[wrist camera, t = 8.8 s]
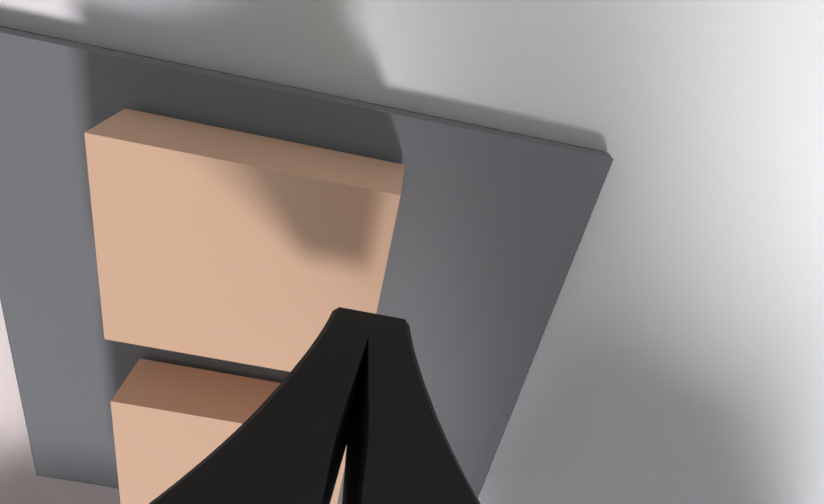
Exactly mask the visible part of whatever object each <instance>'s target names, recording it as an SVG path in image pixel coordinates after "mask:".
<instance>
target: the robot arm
mask: <svg viewBox="0 0 824 504" xmlns="http://www.w3.org/2000/svg"><path fill="white" fill-rule="evenodd" d="M346 445H347V447H346ZM345 449H346V459H345V471H344V484H343V496H342V504H480V502H479V500H478V499H477V497H476V495H475V493H474V491H473V490H472V488H471V486H470V484H469V482H468V481H467V479H466V477H465V475H464V473H463V471H462V469H461V467H460V465H459V463H458V461H457V459H456V457H455V455H454V453H453V451H452V449H451V447H450V444H449V442H448V440H447V438H446V436H445V433H444V431H443V429H442V427H441V424H440V422H439V420H438V417H437V415H436V412H435V410H434V407H433V404H432V402H431V399H430V396H429V394H428V391H427V389H426V386H425V383H424V380H423V377H422V374H421V371H420V368H419V364H418V361H417V358H416V354H415V350H414V347H413V342H412V338H411V333H410V325H409V324H408V323H407V321H406V320H405V319H401V318H396V317H391V316H385V315H380V314H374V313H369V312H363V311H358V310H353V309H347V308H342V307H339V308H337V309H335V310H333V311H332V313H331V315H330V317H329V319H328V321H327V322H326V324H325V326H324V328H323V329H322V331H321V332H320V334H319V335H318V337H317V338H316V340H315V341H314V342H313V344H312V345H311V347H310V348H309V349H308V351H307V352H306V353H305V355H304V356H303V357H302V358H301V360H300V361H299V362H298V363H297V365H296V366H295V367H294V368H293V370H292V371H291V372H290V373H289V375H288V376H287V377H286V378H285V379H284V380H283V382H282V383H281V384H280V385H279V386H278V387H277V388H276V389H275V390H274V392H273V393H272V394H271V395H270V396H269V397H268V398H267V399H266V400H265V401H264V402H263V403H262V404H261V406H260V407H259V408H258V409H257V410H256V411H255V412H254V413H253V414H252V415H251V416H250V417H249V418H248V419H247V420H246V421H245V422H244V423H243V424H242V425H241V426H240V427H239V428H238V429H237V430H236V431H235V432H234V433H233V434H232V435H231V436H229V437H228V438H227V439H226V440H225V441H224V442H223V443H222V444H221V445H220V446H218V447H217V448H216V449H215V450H214V451H213V452H212V453H211V454H209V455H208V456H207V457H206V458H205V459H204V460H202V461H201V462H200V463H199V464H198V465H196V466H195V467H194V468H193V469H192V470H190V471H189V472H188V473H187V474H186V475H184V476H183V477H182V478H181V479H179V480H178V481H177V482H176V483H175V484H173V485H172V486H171V487H170V488H168V489H167V490H166V491H164V492H163V493H162V494H161V495H159V496H158V497H157V498H155V499H154V500H153V501H151V502H150V503H149V504H330V502H331V498H332V495H333V491H334V488H335V484H336V481H337V477H338V474H339V470H340V466H341V463H342V459H343V456H344V452H345Z"/></svg>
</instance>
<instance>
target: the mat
mask: <svg viewBox="0 0 824 504" xmlns="http://www.w3.org/2000/svg"><path fill="white" fill-rule="evenodd" d="M125 108H126V109H131V110H136V111H141V112H146V113H151V114H156V115H161V116H166V117H171V118H176V119H181V120H186V121H190V122H195V123H200V124H205V125H210V126H215V127H220V128H225V129H230V130H235V131H240V132H245V133H250V134H255V135H260V136H265V137H270V138H275V139H280V140H285V141H290V142H295V143H300V144H304V145H309V146H314V147H319V148H324V149H329V150H334V151H339V152H344V153H349V154H354V155H359V156H364V157H369V158H374V159H379V160H384V161H389V162H394V163H399V164H404V165H405V168H404V175H403V183H402V190H401V197H400V201H399V206H398V211H397V216H396V221H395V226H394V230H393V235H392V240H391V245H390V250H389V255H388V260H387V264H386V269H385V274H384V279H383V284H382V289H381V293H380V298H379V303H378V308H377V313H376V314H380V315H385V316H391V317H396V318H401V319H405V320H406V321H407V323H408V324H409V325H410V333H411V338H412V342H413V347H414V350H415V354H416V358H417V361H418V364H419V368H420V371H421V374H422V377H423V380H424V383H425V386H426V389H427V391H428V394H429V396H430V399H431V402H432V404H433V407H434V410H435V412H436V415H437V417H438V420H439V422H440V424H441V427H442V429H443V431H444V433H445V436H446V438H447V440H448V442H449V444H450V447H451V449H452V451H453V453H454V455H455V457H456V459H457V461H458V463H459V465H460V467H461V469H462V471H463V473H464V475H465V477H466V479H467V481H468V482H469V484H470V486H471V488H472V490H473V491H474V493H475V495H476V497H477V498H478V496H479V493H480V491H481V488H482V486H483V483H484V481H485V478H486V476H487V473H488V471H489V468H490V466H491V463H492V461H493V458H494V456H495V453H496V451H497V448H498V446H499V443H500V441H501V438H502V436H503V433H504V431H505V428H506V426H507V423H508V421H509V418H510V416H511V413H512V411H513V408H514V406H515V403H516V401H517V398H518V396H519V393H520V391H521V388H522V386H523V383H524V381H525V378H526V376H527V373H528V371H529V368H530V366H531V363H532V361H533V358H534V356H535V353H536V351H537V348H538V346H539V343H540V341H541V338H542V336H543V333H544V331H545V328H546V326H547V323H548V321H549V318H550V316H551V313H552V311H553V308H554V306H555V303H556V301H557V298H558V296H559V293H560V291H561V288H562V286H563V283H564V281H565V278H566V276H567V273H568V271H569V268H570V266H571V263H572V261H573V258H574V256H575V253H576V251H577V248H578V246H579V243H580V241H581V238H582V236H583V233H584V231H585V228H586V226H587V223H588V221H589V218H590V216H591V213H592V211H593V208H594V206H595V203H596V201H597V198H598V196H599V193H600V191H601V188H602V186H603V183H604V181H605V178H606V176H607V173H608V171H609V168H610V166H611V163H612V161H613V159H612V157H611V156H610V155H609V153H606V152H601V151H597V150H592V149H587V148H582V147H577V146H573V145H568V144H563V143H558V142H553V141H548V140H544V139H539V138H534V137H529V136H524V135H520V134H515V133H510V132H505V131H500V130H496V129H491V128H486V127H481V126H476V125H471V124H467V123H462V122H457V121H452V120H447V119H443V118H438V117H433V116H428V115H423V114H419V113H414V112H409V111H404V110H399V109H395V108H390V107H385V106H380V105H375V104H370V103H366V102H361V101H356V100H351V99H346V98H342V97H337V96H332V95H327V94H322V93H318V92H313V91H308V90H303V89H298V88H293V87H289V86H284V85H279V84H274V83H269V82H265V81H260V80H255V79H250V78H245V77H241V76H236V75H231V74H226V73H221V72H217V71H212V70H207V69H202V68H197V67H192V66H188V65H183V64H178V63H173V62H168V61H164V60H159V59H154V58H149V57H144V56H140V55H135V54H130V53H125V52H120V51H115V50H111V49H106V48H101V47H96V46H91V45H87V44H82V43H77V42H72V41H67V40H63V39H58V38H53V37H48V36H43V35H38V34H34V33H29V32H24V31H19V30H14V29H10V28H5V27H0V300H1V305H2V310H3V315H4V320H5V324H6V329H7V334H8V339H9V344H10V349H11V353H12V358H13V363H14V368H15V373H16V378H17V382H18V387H19V392H20V397H21V402H22V407H23V411H24V416H25V421H26V426H27V431H28V436H29V440H30V445H31V450H32V455H33V460H34V465H35V469H36V474H37V475H40V476H46V477H52V478H58V479H65V480H71V481H77V482H83V483H90V484H96V485H102V486H108V487H115V488H119V483H118V473H117V462H116V452H115V442H114V432H113V421H112V411H111V400H112V398H113V397H114V395H115V394H116V393H117V391H118V390H119V388H120V387H121V385H122V384H123V382H124V381H125V379H126V378H127V376H128V375H129V374H130V372H131V371H132V369H133V368H134V366H135V365H136V363H137V362H138V360H139V359H146V360H152V361H158V362H163V363H169V364H175V365H181V366H186V367H192V368H198V369H203V370H209V371H215V372H221V373H226V374H232V375H238V376H244V377H249V378H255V379H261V380H266V381H272V382H278V383H282V382H283V380H284V379H285V378H286V377H287V376H288V375H289V373H290V372H288V371H283V370H277V369H271V368H266V367H260V366H254V365H249V364H243V363H237V362H232V361H226V360H220V359H214V358H209V357H203V356H197V355H192V354H186V353H180V352H175V351H169V350H163V349H158V348H152V347H146V346H141V345H135V344H129V343H124V342H118V341H112V340H107V339H104V329H103V319H102V309H101V299H100V288H99V278H98V268H97V258H96V247H95V237H94V227H93V217H92V206H91V196H90V186H89V176H88V165H87V155H86V145H85V135H84V133H85V132H86V131H88V130H90V129H91V128H93V127H95V126H96V125H98V124H100V123H101V122H103V121H105V120H106V119H108V118H110V117H111V116H113V115H115V114H117V113H118V112H120V111H122V110H123V109H125ZM344 471H345V468H344ZM343 484H344V473H343V478H342V483H341V487H340V492H339V497H338V502H337V504H342V496H343Z"/></svg>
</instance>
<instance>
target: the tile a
mask: <svg viewBox="0 0 824 504" xmlns="http://www.w3.org/2000/svg"><path fill="white" fill-rule="evenodd" d="M280 384H281V383H278V382H272V381H266V380H261V379H255V378H249V377H244V376H238V375H232V374H226V373H221V372H215V371H209V370H203V369H198V368H192V367H186V366H181V365H175V364H169V363H163V362H158V361H152V360H146V359H139V360H138V362H137V363H136V365H135V366H134V368H133V369H132V371H131V372H130V374H129V375H128V376H127V378H126V379H125V381H124V382H123V384H122V385H121V387H120V388H119V390H118V391H117V393H116V394H115V395H114V397H113V398H112V400H111V411H112V421H113V432H114V442H115V452H116V462H117V473H118V483H119V493H120V503H121V504H149V503H150V502H151V501H153V500H154V499H155V498H157V497H158V496H159V495H161V494H162V493H163V492H164V491H166V490H167V489H168V488H170V487H171V486H172V485H173V484H175V483H176V482H177V481H178V480H179V479H181V478H182V477H183V476H184V475H186V474H187V473H188V472H189V471H190V470H192V469H193V468H194V467H195V466H196V465H198V464H199V463H200V462H201V461H202V460H204V459H205V458H206V457H207V456H208V455H209V454H211V453H212V452H213V451H214V450H215V449H216V448H217V447H218V446H220V445H221V444H222V443H223V442H224V441H225V440H226V439H227V438H228V437H229V436H231V435H232V434H233V433H234V432H235V431H236V430H237V429H238V428H239V427H240V426H241V425H242V424H243V423H244V422H245V421H246V420H247V419H248V418H249V417H250V416H251V415H252V414H253V413H254V412H255V411H256V410H257V409H258V408H259V407H260V406H261V404H262V403H263V402H264V401H265V400H266V399H267V398H268V397H269V396H270V395H271V394H272V393H273V392H274V390H275V389H276V388H277V387H278V386H279V385H280ZM346 447H347V445H346ZM345 459H346V449H345V452H344V456H343V459H342V463H341V466H340V470H339V474H338V477H337V481H336V484H335V488H334V491H333V495H332V498H331V502H330V504H337V502H338V497H339V492H340V487H341V483H342V478H343V473H344V468H345Z"/></svg>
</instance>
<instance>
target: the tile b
mask: <svg viewBox="0 0 824 504" xmlns="http://www.w3.org/2000/svg"><path fill="white" fill-rule="evenodd" d="M84 135H85V145H86V155H87V165H88V176H89V186H90V196H91V206H92V217H93V227H94V237H95V247H96V258H97V268H98V278H99V288H100V299H101V309H102V319H103V329H104V339H107V340H112V341H118V342H124V343H129V344H135V345H141V346H146V347H152V348H158V349H163V350H169V351H175V352H180V353H186V354H192V355H197V356H203V357H209V358H214V359H220V360H226V361H232V362H237V363H243V364H249V365H254V366H260V367H266V368H271V369H277V370H283V371H288V372H291V371H292V370H293V368H294V367H295V366H296V365H297V363H298V362H299V361H300V360H301V358H302V357H303V356H304V355H305V353H306V352H307V351H308V349H309V348H310V347H311V345H312V344H313V342H314V341H315V340H316V338H317V337H318V335H319V334H320V332H321V331H322V329H323V328H324V326H325V324H326V322H327V321H328V319H329V317H330V315H331V313H332V311H333V310H335V309H337V308H339V307H342V308H347V309H353V310H358V311H363V312H369V313H374V314H376V313H377V308H378V303H379V298H380V293H381V289H382V284H383V279H384V274H385V269H386V264H387V260H388V255H389V250H390V245H391V240H392V235H393V230H394V226H395V221H396V216H397V211H398V206H399V201H400V197H401V190H402V183H403V175H404V168H405V165H404V164H399V163H394V162H389V161H384V160H379V159H374V158H369V157H364V156H359V155H354V154H349V153H344V152H339V151H334V150H329V149H324V148H319V147H314V146H309V145H304V144H300V143H295V142H290V141H285V140H280V139H275V138H270V137H265V136H260V135H255V134H250V133H245V132H240V131H235V130H230V129H225V128H220V127H215V126H210V125H205V124H200V123H195V122H190V121H186V120H181V119H176V118H171V117H166V116H161V115H156V114H151V113H146V112H141V111H136V110H131V109H126V108H125V109H123V110H122V111H120V112H118V113H117V114H115V115H113V116H111V117H110V118H108V119H106V120H105V121H103V122H101V123H100V124H98V125H96V126H95V127H93V128H91V129H90V130H88V131H86V132H85V133H84Z"/></svg>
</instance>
